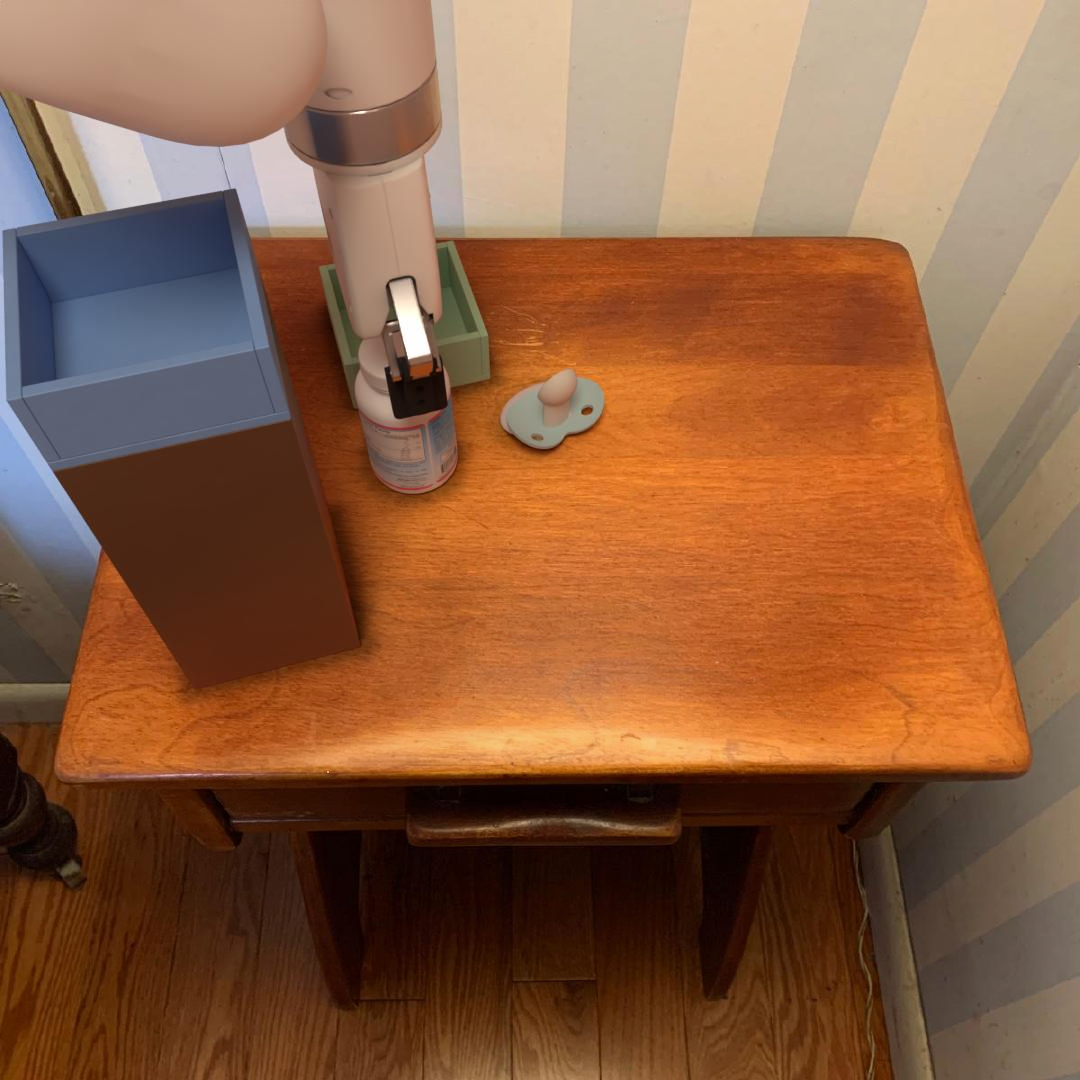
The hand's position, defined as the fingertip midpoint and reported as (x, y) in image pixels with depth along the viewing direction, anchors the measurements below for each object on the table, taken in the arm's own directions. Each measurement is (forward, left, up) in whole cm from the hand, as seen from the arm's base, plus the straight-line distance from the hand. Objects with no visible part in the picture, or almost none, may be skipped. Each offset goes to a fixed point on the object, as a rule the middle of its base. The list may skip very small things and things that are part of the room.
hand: (402, 351), depth 63 cm
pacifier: (+10, +1, -11) cm, 15 cm away
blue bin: (-12, -8, -11) cm, 18 cm away
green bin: (+2, +11, -11) cm, 15 cm away
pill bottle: (0, 0, -11) cm, 11 cm away
